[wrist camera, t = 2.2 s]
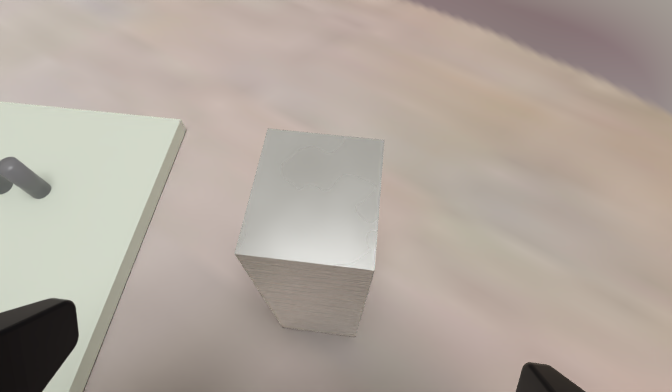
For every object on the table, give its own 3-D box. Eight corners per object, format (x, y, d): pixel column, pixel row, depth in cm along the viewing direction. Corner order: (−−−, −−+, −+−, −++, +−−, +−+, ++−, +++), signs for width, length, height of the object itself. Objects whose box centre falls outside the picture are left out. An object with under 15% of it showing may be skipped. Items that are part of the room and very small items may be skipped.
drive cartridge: (281, 327, 18) (232, 253, 10) (295, 249, 20) (266, 128, 11) (356, 337, 18) (376, 270, 9) (363, 257, 20) (386, 140, 11)
